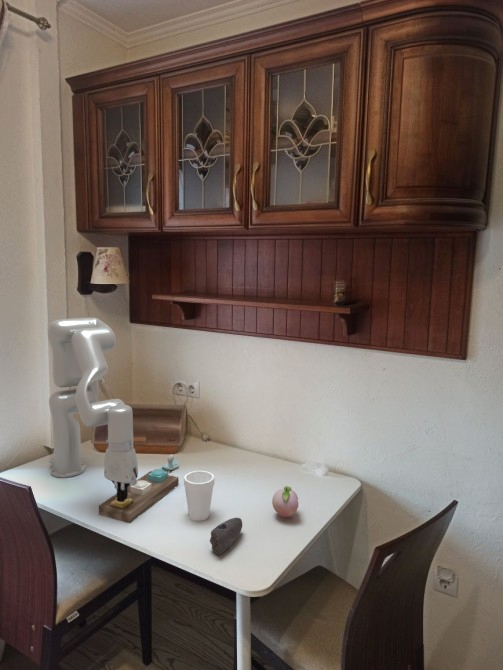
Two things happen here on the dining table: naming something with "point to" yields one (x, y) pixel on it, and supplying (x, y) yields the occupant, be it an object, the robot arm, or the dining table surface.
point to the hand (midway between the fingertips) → (122, 499)
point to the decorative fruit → (285, 502)
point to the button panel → (139, 500)
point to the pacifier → (170, 464)
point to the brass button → (122, 503)
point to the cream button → (141, 488)
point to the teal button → (158, 475)
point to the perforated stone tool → (225, 534)
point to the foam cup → (199, 494)
